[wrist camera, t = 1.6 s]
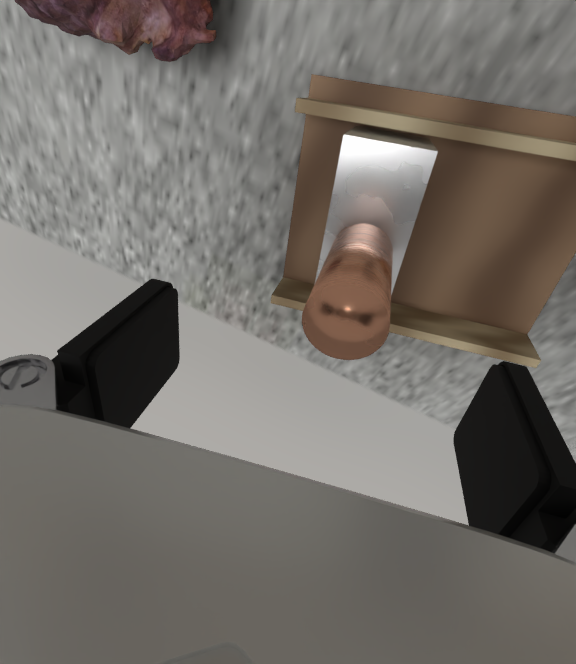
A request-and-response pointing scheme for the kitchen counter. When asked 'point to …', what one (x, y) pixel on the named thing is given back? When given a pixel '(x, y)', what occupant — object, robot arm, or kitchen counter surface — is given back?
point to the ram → (366, 239)
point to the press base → (450, 212)
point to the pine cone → (131, 22)
